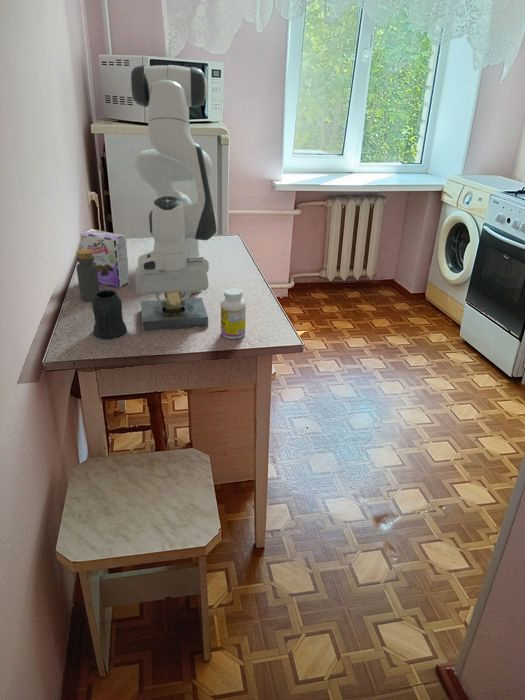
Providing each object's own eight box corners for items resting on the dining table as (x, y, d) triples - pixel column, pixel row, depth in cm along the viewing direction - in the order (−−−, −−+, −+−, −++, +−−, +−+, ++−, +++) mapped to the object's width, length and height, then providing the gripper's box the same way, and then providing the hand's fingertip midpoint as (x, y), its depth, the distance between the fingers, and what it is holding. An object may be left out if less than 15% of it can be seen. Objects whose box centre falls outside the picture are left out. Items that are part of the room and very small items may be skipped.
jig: (141, 310, 158) (140, 301, 156) (201, 306, 162) (201, 297, 160) (143, 331, 146) (142, 321, 144) (208, 326, 150) (208, 317, 148)
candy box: (85, 281, 177) (79, 232, 169) (97, 275, 182) (91, 228, 174) (119, 288, 172) (114, 239, 164) (130, 282, 177) (126, 234, 169)
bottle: (104, 297, 166) (98, 250, 158) (89, 303, 161) (82, 255, 154) (92, 292, 168) (85, 247, 161) (76, 298, 164) (69, 251, 157)
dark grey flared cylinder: (97, 324, 149) (92, 287, 144) (129, 324, 150) (126, 287, 144) (86, 344, 138) (81, 305, 133) (122, 344, 139) (118, 305, 134)
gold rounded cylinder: (164, 312, 155) (163, 286, 151) (181, 311, 156) (180, 286, 152) (166, 319, 151) (164, 293, 147) (183, 318, 152) (181, 292, 148)
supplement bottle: (221, 329, 149) (220, 286, 142) (244, 329, 149) (245, 286, 143) (221, 340, 143) (220, 296, 137) (245, 340, 143) (246, 296, 137)
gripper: (207, 253, 150) (207, 298, 157) (132, 257, 146) (137, 303, 152) (210, 261, 145) (211, 307, 151) (133, 264, 140) (137, 312, 147)
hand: (173, 305), depth 152 cm, fingers closed on gold rounded cylinder, 5 cm apart
